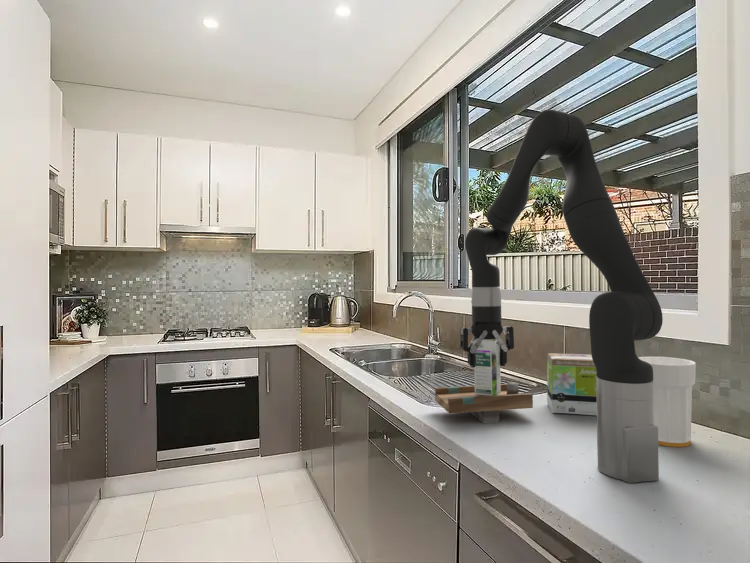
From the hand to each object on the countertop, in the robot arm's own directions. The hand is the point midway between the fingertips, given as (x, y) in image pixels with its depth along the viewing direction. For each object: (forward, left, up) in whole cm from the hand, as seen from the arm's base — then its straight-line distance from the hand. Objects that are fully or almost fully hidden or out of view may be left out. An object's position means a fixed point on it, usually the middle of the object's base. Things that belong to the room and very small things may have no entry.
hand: (487, 366), depth 120 cm
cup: (-25, -30, -13) cm, 41 cm away
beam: (0, +2, -13) cm, 13 cm away
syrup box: (0, 0, -7) cm, 7 cm away
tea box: (-1, -25, -13) cm, 29 cm away
